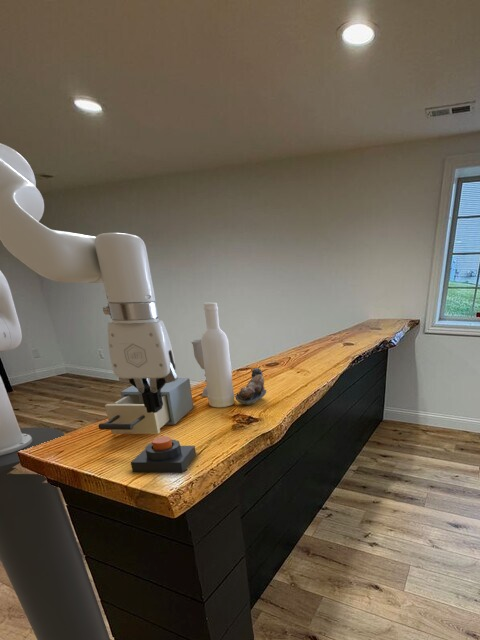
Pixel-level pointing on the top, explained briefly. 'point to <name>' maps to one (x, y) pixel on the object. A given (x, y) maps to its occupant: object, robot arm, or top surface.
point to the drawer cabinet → (172, 397)
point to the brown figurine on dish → (252, 389)
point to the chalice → (199, 359)
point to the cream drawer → (135, 416)
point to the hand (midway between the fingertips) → (155, 410)
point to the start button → (162, 443)
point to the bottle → (216, 360)
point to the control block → (164, 458)
